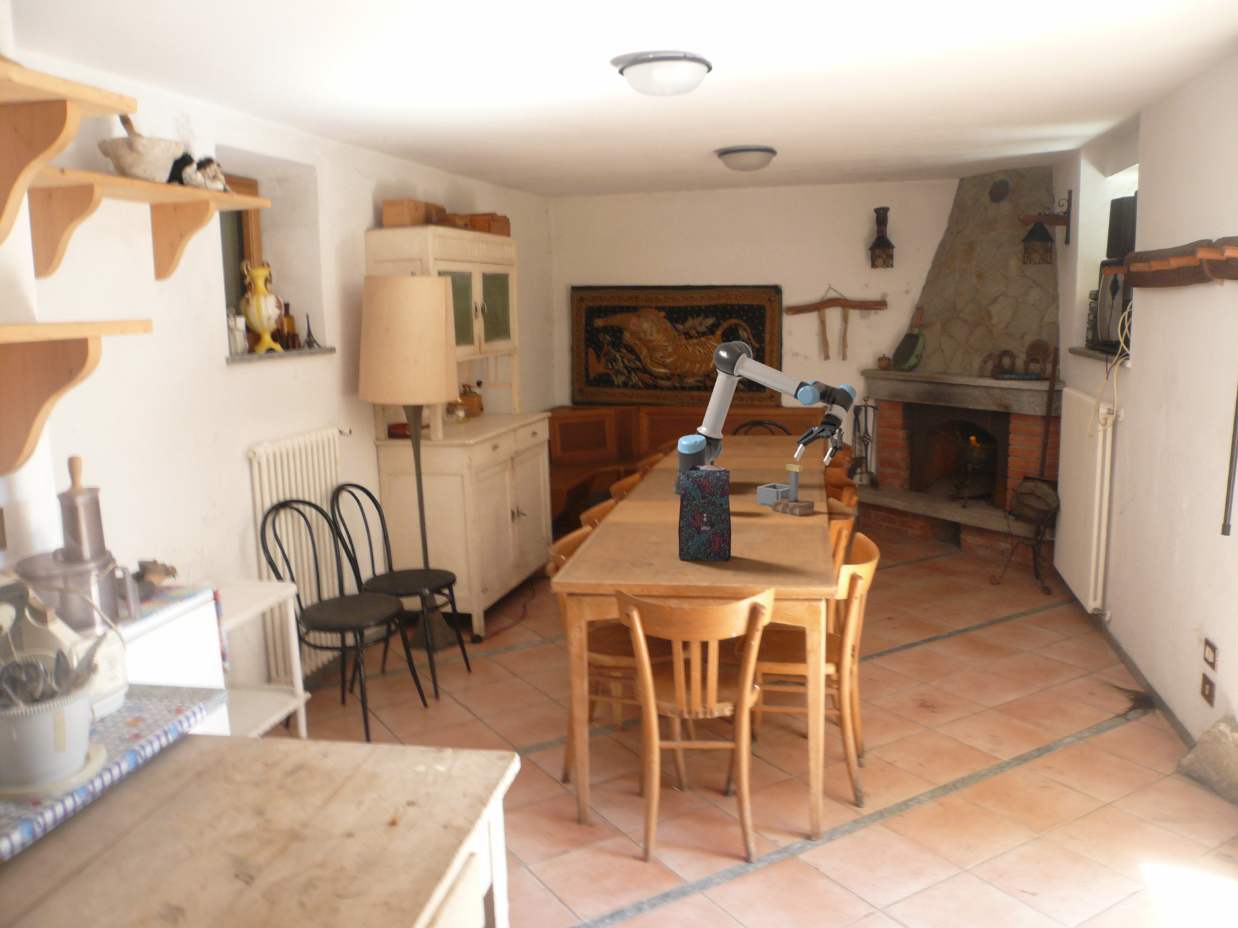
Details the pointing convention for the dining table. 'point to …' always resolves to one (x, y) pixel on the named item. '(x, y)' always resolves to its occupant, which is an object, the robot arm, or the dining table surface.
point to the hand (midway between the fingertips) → (810, 461)
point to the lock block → (793, 506)
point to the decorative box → (704, 515)
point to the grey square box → (771, 493)
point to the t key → (793, 481)
